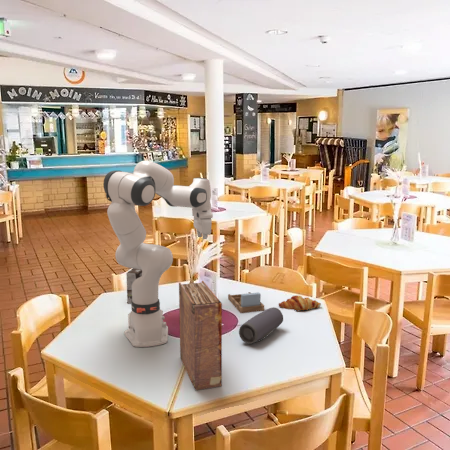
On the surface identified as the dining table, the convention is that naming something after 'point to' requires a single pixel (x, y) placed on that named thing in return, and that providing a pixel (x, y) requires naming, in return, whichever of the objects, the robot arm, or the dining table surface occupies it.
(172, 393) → the dining table surface
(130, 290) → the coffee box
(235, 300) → the wooden tray
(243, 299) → the blue-grey square slab
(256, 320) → the bluetooth speaker
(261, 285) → the dining table surface
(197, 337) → the book
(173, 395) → the dining table surface
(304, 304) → the croissant
